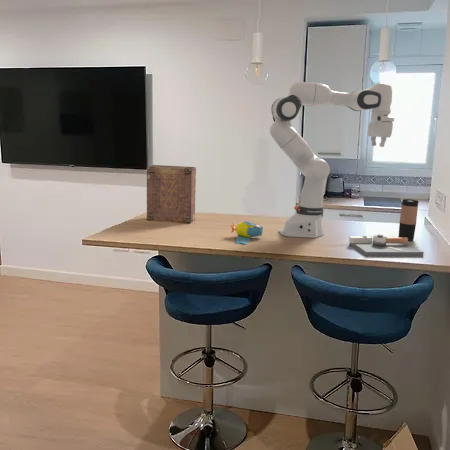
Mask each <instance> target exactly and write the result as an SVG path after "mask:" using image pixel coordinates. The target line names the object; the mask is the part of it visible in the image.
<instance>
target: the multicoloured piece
mask: <svg viewBox="0 0 450 450" xmlns="http://www.w3.org/2000/svg"><path fill="white" fill-rule="evenodd" d="M372 241H373V243H372V244H373V245H376V246H386V243H407V244H409V243H408V238H406V237H399V236H398V237H397V236H396V237H395V236H394V237H392V236H391V237H388V236H384V235H383V234H377V235H375V234H374V235H373V236H372Z"/></svg>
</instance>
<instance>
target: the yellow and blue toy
mask: <svg viewBox="0 0 450 450" xmlns="http://www.w3.org/2000/svg"><path fill="white" fill-rule="evenodd" d="M230 227H231V233H233V232H234V231H235V234H237V237H236V239H235V241H234V245H245V246H246V245H247V246H248V243H249V242H250V239H251V238H255V237H260V236H261V237H262V236H263V229H264V228H263V226H262V225H259V224H258V223H257V224H256V223H253V222H251V221H245V220H243V221H242V222H239V223H237V225H236V226H235V224H234V223H231V226H230Z"/></svg>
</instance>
